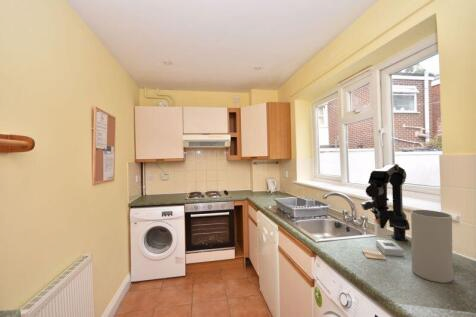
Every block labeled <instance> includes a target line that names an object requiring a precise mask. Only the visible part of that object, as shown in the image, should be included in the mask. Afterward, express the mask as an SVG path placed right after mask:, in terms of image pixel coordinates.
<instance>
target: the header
mask: <svg viewBox="0 0 476 317" xmlns="http://www.w3.org/2000/svg"><path fill="white" fill-rule="evenodd" d="M375 241H376V242H375V246H376V247H377V248H378V250H380V251H381V252H382V253H383V255H384V256H385V255H386V256H396V257H397V256H398V257H404V249H403V248H402V247H401V246H399V244H397V242H396V241H394V240H387V239H376V240H375Z"/></svg>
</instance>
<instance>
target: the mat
mask: <svg viewBox="0 0 476 317" xmlns="http://www.w3.org/2000/svg"><path fill="white" fill-rule="evenodd" d="M361 252H362V254H363V255H364V256H365V258H366V259H371V260H380V261H381V260H384V261H386V260H387V258H386V257H385V255H384V254H382V253H381V252H380V251H375V250H361Z"/></svg>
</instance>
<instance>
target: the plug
mask: <svg viewBox="0 0 476 317" xmlns="http://www.w3.org/2000/svg"><path fill="white" fill-rule="evenodd" d="M387 223H388V222H387ZM387 223H386V225H385V226H384V228H381V227H380V221H379V219H376V218H374V235H375V236H376V237H377V238H383V239H384V238H385V239H386V238H387V237H388V236H387V235H388V231H387V229H388V228H387V225H388V224H387Z"/></svg>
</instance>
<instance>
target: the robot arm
mask: <svg viewBox="0 0 476 317" xmlns="http://www.w3.org/2000/svg"><path fill="white" fill-rule="evenodd" d="M406 179H407V172H406V170H405V168H403V167H401V166H400V165H399V164H398V163H387V164H386V165H385V166H383V167H382V168H380V169H373V170H372V171H371V172H370V175H369V178H368V182H367V183H368V184H369V185H368V186H366V189H365V194H366V195H367V196H368V197H369V198H371V199H369V200H364V201H361V202H360V206H361V208H362V209H363V210H364V211H368V210H370V212H371V213H372V214H374V215H373V216H374V217H375V218H374V219H379V221H380V227H381V228H384V226H385V225H386V223H388V226H389V228H392V230H393V234H391V236H390V237H391V238H393V239H394V240H395V241H404V242H406V241H407V242H408V241H409V238H407V236H406V231H410V228H411V227H410V223H409V220H408V219H407V214H406V213H405V211H404V210H403V209H404V207H403V185H404V183H405V182H406ZM388 184H390V185H391V189H392V190H391V191H392V193H391V194H392V196H391V197H392V209H390V207H389V206H388V201H390V199H389V198H388Z"/></svg>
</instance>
